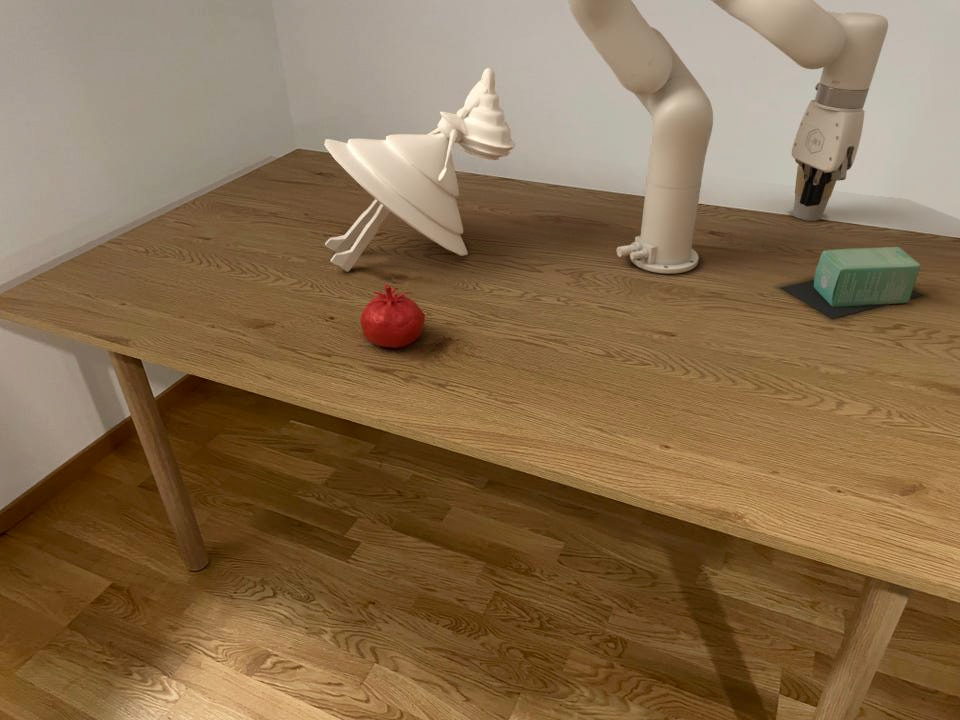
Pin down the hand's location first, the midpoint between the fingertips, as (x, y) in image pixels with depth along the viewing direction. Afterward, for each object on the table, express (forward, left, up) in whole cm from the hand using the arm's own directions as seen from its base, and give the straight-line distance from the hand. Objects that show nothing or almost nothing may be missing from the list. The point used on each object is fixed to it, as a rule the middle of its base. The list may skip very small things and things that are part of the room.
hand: (809, 203), depth 128 cm
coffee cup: (+19, +18, -12) cm, 28 cm away
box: (+1, -14, -12) cm, 19 cm away
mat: (+1, -12, -12) cm, 17 cm away
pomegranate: (-76, +5, -12) cm, 77 cm away
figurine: (-62, +35, -12) cm, 72 cm away
